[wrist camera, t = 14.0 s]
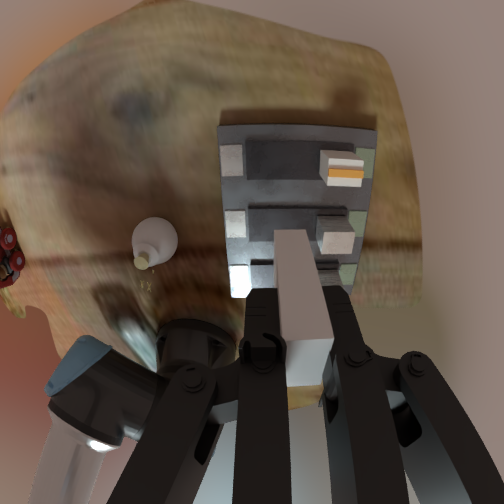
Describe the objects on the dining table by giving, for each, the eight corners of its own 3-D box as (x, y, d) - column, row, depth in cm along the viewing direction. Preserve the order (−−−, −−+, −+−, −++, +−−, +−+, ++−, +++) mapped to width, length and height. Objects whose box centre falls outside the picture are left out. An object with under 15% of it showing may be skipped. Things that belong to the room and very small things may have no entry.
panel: (232, 290, 42) (228, 320, 36) (219, 124, 29) (209, 132, 23) (348, 288, 41) (358, 317, 36) (372, 129, 28) (395, 138, 23)
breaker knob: (319, 173, 29) (327, 186, 25) (320, 149, 28) (329, 159, 24) (349, 175, 29) (361, 188, 25) (351, 151, 27) (364, 161, 24)
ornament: (178, 207, 34) (153, 249, 26) (187, 256, 38) (169, 304, 30) (137, 210, 35) (104, 250, 26) (149, 256, 39) (124, 302, 30)
